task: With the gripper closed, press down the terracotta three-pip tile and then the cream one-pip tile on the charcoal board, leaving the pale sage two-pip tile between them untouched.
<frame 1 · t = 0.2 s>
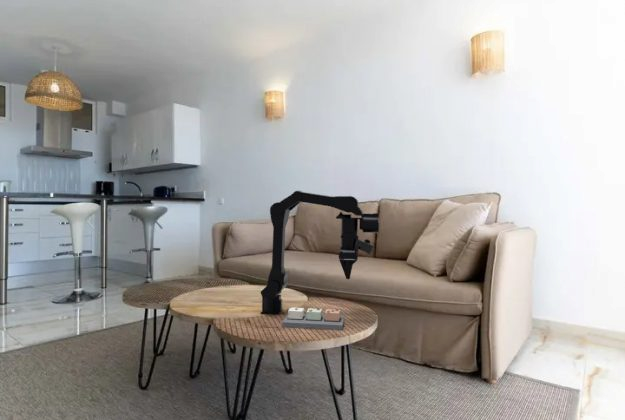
hand: (348, 276, 138), 14 cm above the table, fingers open, 9 cm apart
board: (314, 323, 130), on the table
tile three: (332, 314, 129), point 3 cm above the table, slide at 0.0 cm
tile two: (314, 313, 130), point 3 cm above the table, slide at 0.0 cm
tile one: (296, 312, 131), point 3 cm above the table, slide at 0.0 cm
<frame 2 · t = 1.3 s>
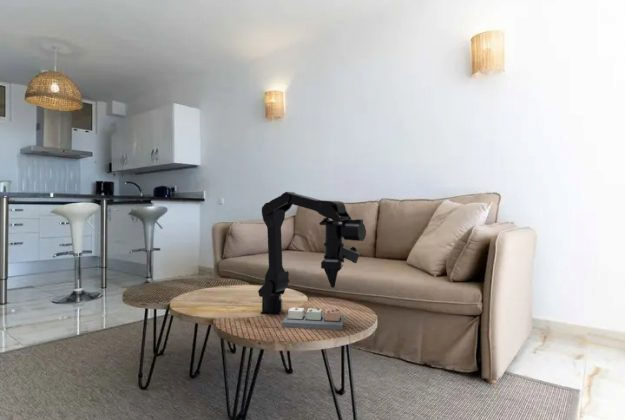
hand: (333, 287, 129), 12 cm above the table, fingers closed
nothing on the table moved.
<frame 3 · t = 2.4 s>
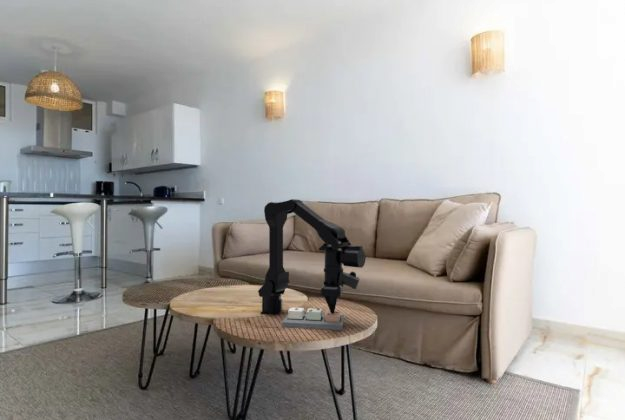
hand: (332, 312, 129), 4 cm above the table, fingers closed, pressing on tile three
tile three: (332, 316, 129), point 2 cm above the table, slide at -0.7 cm, touching gripper
everything else where it was.
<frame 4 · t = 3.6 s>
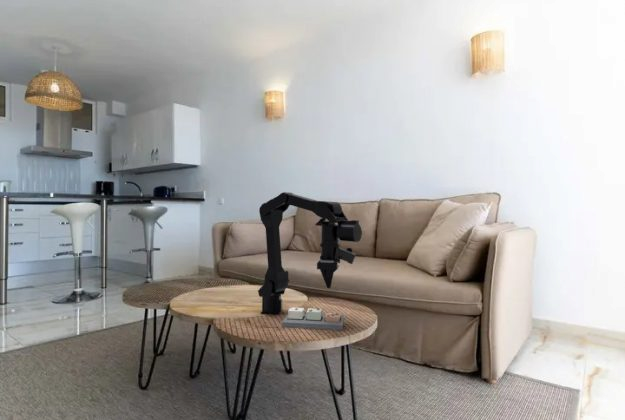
hand: (328, 287, 129), 12 cm above the table, fingers closed
tile three: (332, 318, 129), point 2 cm above the table, slide at -1.3 cm
everything else where it was.
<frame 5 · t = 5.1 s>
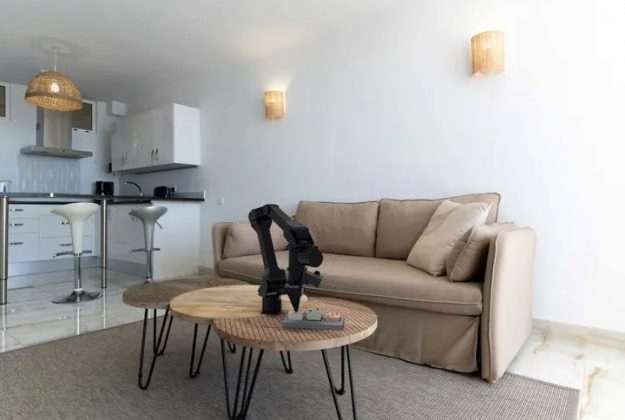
hand: (296, 311, 131), 4 cm above the table, fingers closed, pressing on tile one
tile one: (296, 315, 131), point 2 cm above the table, slide at -0.8 cm, touching gripper
everything else where it was.
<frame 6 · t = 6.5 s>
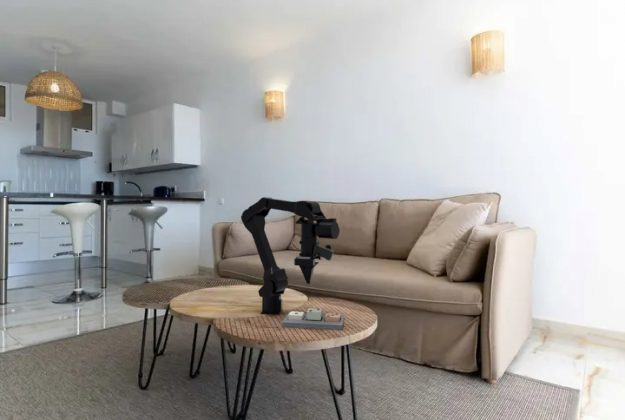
hand: (308, 283, 135), 12 cm above the table, fingers closed
tile one: (296, 317, 131), point 2 cm above the table, slide at -1.3 cm
everything else where it was.
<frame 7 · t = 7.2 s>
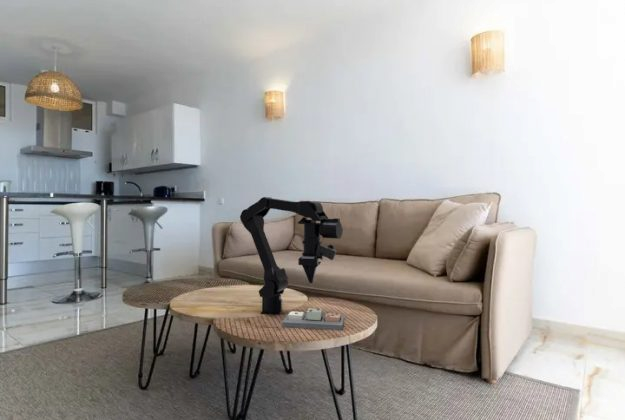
hand: (311, 282, 136), 12 cm above the table, fingers closed
nothing on the table moved.
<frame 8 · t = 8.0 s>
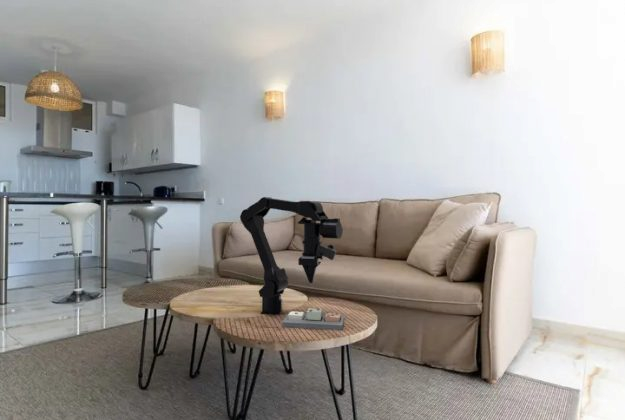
hand: (311, 282, 136), 12 cm above the table, fingers closed
nothing on the table moved.
at the end: tile three slide at -1.3 cm; tile one slide at -1.3 cm; tile two slide at 0.0 cm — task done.
